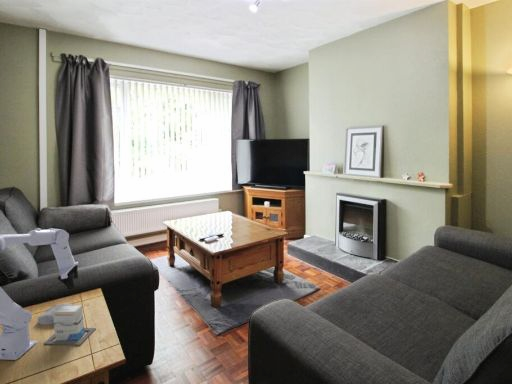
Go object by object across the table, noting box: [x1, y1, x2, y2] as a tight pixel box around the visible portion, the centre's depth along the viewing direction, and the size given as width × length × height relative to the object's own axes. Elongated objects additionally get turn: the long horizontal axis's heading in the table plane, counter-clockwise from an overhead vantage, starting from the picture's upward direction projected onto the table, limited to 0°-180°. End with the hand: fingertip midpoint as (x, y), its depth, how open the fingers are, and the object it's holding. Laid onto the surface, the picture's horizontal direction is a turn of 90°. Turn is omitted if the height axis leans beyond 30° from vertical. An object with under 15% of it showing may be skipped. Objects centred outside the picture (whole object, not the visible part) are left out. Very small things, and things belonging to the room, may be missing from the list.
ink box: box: [53, 304, 86, 341], centre depth 114 cm, size 8×5×12 cm, turn 92°
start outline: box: [43, 327, 97, 347], centre depth 115 cm, size 10×14×1 cm
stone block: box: [37, 302, 75, 325], centre depth 129 cm, size 12×5×10 cm
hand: (73, 283), depth 127 cm, fingers open, 7 cm apart
